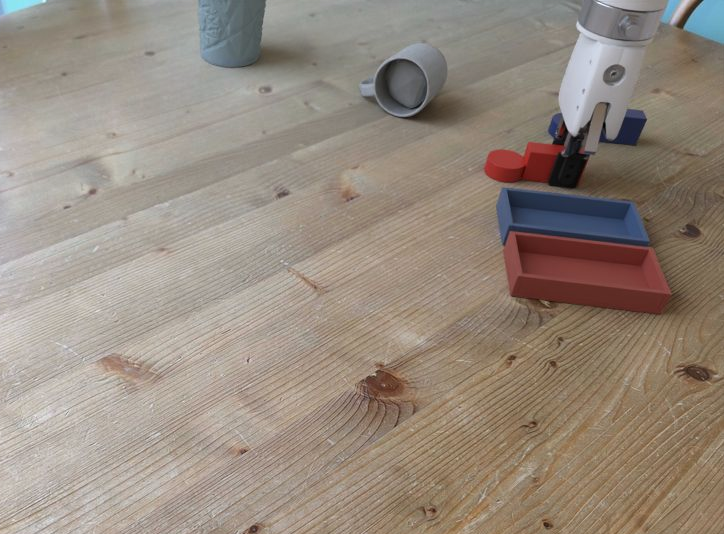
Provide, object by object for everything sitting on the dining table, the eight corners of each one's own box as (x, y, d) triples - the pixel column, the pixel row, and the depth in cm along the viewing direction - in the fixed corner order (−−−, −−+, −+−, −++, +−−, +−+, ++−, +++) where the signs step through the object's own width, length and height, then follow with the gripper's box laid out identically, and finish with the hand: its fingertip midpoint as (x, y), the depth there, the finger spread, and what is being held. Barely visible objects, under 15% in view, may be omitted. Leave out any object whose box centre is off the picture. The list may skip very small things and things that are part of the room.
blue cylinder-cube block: (629, 132, 96) (641, 106, 94) (637, 149, 93) (649, 122, 91) (545, 123, 97) (554, 97, 95) (550, 140, 94) (559, 113, 92)
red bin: (642, 267, 76) (653, 247, 74) (660, 314, 70) (672, 294, 69) (503, 250, 77) (509, 230, 75) (510, 296, 71) (517, 275, 70)
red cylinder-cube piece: (573, 170, 89) (584, 143, 86) (579, 190, 86) (591, 162, 83) (482, 160, 90) (490, 133, 87) (485, 180, 86) (493, 152, 84)
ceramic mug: (445, 100, 100) (457, 43, 95) (423, 124, 95) (434, 65, 90) (372, 81, 104) (380, 25, 99) (347, 103, 99) (354, 45, 94)
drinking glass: (183, 59, 106) (181, -31, 98) (213, 35, 113) (214, -52, 104) (249, 75, 103) (253, -17, 95) (276, 48, 110) (282, -40, 102)
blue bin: (625, 221, 82) (634, 201, 80) (640, 261, 76) (650, 241, 75) (495, 206, 83) (501, 186, 81) (502, 245, 77) (508, 225, 76)
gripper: (679, 53, 69) (605, 221, 81) (639, -8, 80) (580, 148, 93) (596, 45, 69) (535, 213, 82) (568, -14, 81) (519, 141, 93)
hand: (559, 177), depth 87 cm, fingers closed on red cylinder-cube piece, 2 cm apart
